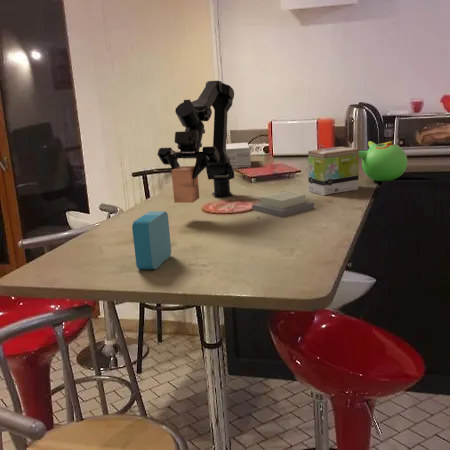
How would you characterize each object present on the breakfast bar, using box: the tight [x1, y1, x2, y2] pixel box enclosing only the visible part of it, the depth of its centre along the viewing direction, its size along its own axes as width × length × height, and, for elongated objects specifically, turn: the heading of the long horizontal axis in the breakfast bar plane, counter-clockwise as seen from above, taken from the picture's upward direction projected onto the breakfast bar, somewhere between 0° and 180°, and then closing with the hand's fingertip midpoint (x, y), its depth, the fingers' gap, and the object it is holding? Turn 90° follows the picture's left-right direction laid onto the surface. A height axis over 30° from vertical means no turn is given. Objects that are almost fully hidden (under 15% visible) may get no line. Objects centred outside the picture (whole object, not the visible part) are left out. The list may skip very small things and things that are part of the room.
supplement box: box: [226, 142, 252, 170], centre depth 277 cm, size 17×13×9 cm
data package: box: [131, 210, 172, 270], centre depth 146 cm, size 12×4×12 cm, turn 164°
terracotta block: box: [171, 165, 200, 204], centre depth 183 cm, size 6×6×10 cm
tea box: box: [307, 146, 360, 196], centre depth 210 cm, size 15×10×15 cm
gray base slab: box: [251, 200, 315, 218], centre depth 191 cm, size 14×14×2 cm
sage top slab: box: [259, 190, 306, 209], centre depth 190 cm, size 10×10×2 cm
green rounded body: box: [359, 140, 408, 183], centre depth 220 cm, size 18×17×15 cm
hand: (183, 178), depth 181 cm, fingers closed on terracotta block, 6 cm apart
